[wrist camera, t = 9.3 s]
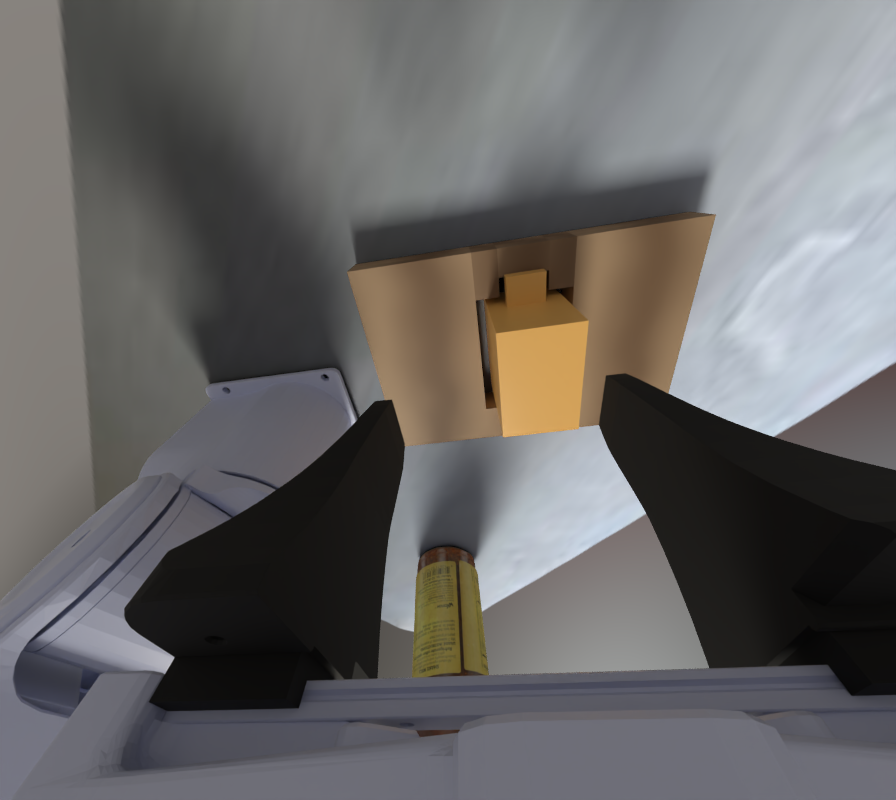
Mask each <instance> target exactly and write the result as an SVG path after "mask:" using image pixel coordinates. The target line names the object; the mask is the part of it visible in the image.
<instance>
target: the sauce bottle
mask: <svg viewBox="0 0 896 800" xmlns="http://www.w3.org/2000/svg"><path fill="white" fill-rule="evenodd" d="M478 675H489V673H488V664H487V656H486V647H485V638H484V628H483V619H482V610H481V601H480V592H479V583H478V574H477V571H476V569H475V563H474V559H473V557H472V555H471V554H470V553H468V552H466V551H464V550H461V549H459V548H456V547H448V546H445V547H437V548H434V549H431V550H430V551H427V552H425V553H424V554H423V555H422V556H421V558H420V560H419V563H418V573H417V577H416V596H415V623H414V647H413V670H412V678H413V677H446V676H478ZM415 731H417V733H418V734H419V736H420V737H427V736H435V735H444V734H453V733H458V732H459V731H460V730H415Z"/></svg>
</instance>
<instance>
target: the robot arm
mask: <svg viewBox="0 0 896 800" xmlns="http://www.w3.org/2000/svg"><path fill="white" fill-rule="evenodd" d="M323 374H326V375H327V376H328V377H329V378H325V377H324V376H323ZM226 387H227V388H229V389H230V391H229V390H228V389H227V388H226ZM206 393H207V394H208V396H209V397H210V399H211V401H210V402H209V403H208V404H206V405H205V406H204V407H203V408H202V409H201V410H200V411H199V412H198V413H197V414H195V415H194V416H193V417H192V418H191V419H190V420H189V421H188V422H187V423H185V424H184V425H183V426H182V427H181V428H180V429H179V430H178V431H177V432H176V433H174V434H173V435H172V436H171V437H170V438H169V439H168V440H167V441H166V442H164V443H163V444H162V445H161V446H160V447H159V448H158V449H157V450H156V451H155V452H154V453H153V454H152V455H151V456H150V457H149V458H148V460H147V461H146V462H145V464H144V466H143V468H142V470H141V472H140V474H139V477H138V480H137V481H136V482H134V483H133V484H131V485H130V486H129V487H127V488H126V489H124V490H123V491H122V492H121V493H119V494H118V495H117V496H115V497H114V498H113V499H112V500H110V501H109V502H108V503H107V504H106V505H104V506H103V507H102V508H101V509H99V510H98V511H97V512H96V513H95V514H93V515H92V516H91V517H90V518H89V519H88V520H86V521H85V522H84V523H83V524H82V525H81V526H80V527H78V528H77V529H76V530H75V531H74V532H73V533H71V534H70V535H69V536H68V537H67V538H66V539H65V540H64V541H62V542H61V543H60V544H59V545H58V546H57V547H56V548H55V549H53V551H52V552H50V553H49V554H48V555H47V556H46V557H45V558H44V559H43V560H41V561H40V562H39V563H38V564H37V565H36V566H35V567H34V568H33V569H32V570H31V571H30V572H29V573H28V574H27V575H26V576H25V577H23V578H22V579H21V580H20V581H19V582H18V583H17V584H16V585H15V586H14V588H12V589H11V590H10V591H9V592H8V593H7V594H6V595H5V597H4V598H3V599H2V600H1V601H0V800H896V470H892V469H888V468H884V467H880V466H876V465H871V464H867V463H863V462H859V461H854V460H851V459H847V458H843V457H839V456H836V455H832V454H828V453H824V452H821V451H817V450H814V449H811V448H807V447H804V446H800V445H797V444H794V443H791V442H787V441H784V440H781V439H778V438H775V437H772V436H769V435H766V434H763V433H760V432H758V431H755V430H752V429H749V428H746V427H744V426H741V425H738V424H736V423H733V422H731V421H728V420H726V419H723V418H721V417H718V416H716V415H714V414H711V413H709V412H707V411H704V410H702V409H700V408H698V407H696V406H693V405H691V404H689V403H687V402H685V401H683V400H681V399H679V398H676V397H674V396H672V395H670V394H668V393H666V392H664V391H662V390H660V389H658V388H656V387H654V386H652V385H650V384H648V383H646V382H644V381H642V380H640V379H638V378H636V377H633V376H631V375H629V374H626V373H623V374H614V375H606V378H605V385H604V392H603V399H602V406H601V413H600V420H599V426H600V429H601V431H602V434H603V436H604V439H605V441H606V444H607V446H608V448H609V450H610V452H611V454H612V456H613V457H614V459H615V461H616V463H617V464H618V466H619V468H620V469H621V471H622V473H623V474H624V476H625V478H626V479H627V481H628V483H629V484H630V486H631V488H632V489H633V491H634V493H635V494H636V496H637V498H638V499H639V501H640V503H641V505H642V506H643V508H644V510H645V512H646V514H647V516H648V517H649V519H650V521H651V523H652V526H653V528H654V530H655V532H656V534H657V537H658V539H659V541H660V543H661V545H662V548H663V550H664V552H665V555H666V557H667V559H668V562H669V564H670V566H671V569H672V571H673V573H674V576H675V578H676V580H677V583H678V585H679V588H680V590H681V593H682V595H683V598H684V601H685V603H686V606H687V608H688V611H689V613H690V616H691V618H692V621H693V623H694V626H695V629H696V632H697V635H698V637H699V640H700V643H701V646H702V648H703V651H704V654H705V657H706V659H707V662H708V665H709V668H706V669H675V670H674V669H673V670H641V671H608V672H577V673H543V674H511V675H478V676H446V677H413V678H382V679H377V674H378V655H379V636H380V622H381V608H382V595H383V584H384V574H385V564H386V555H387V546H388V537H389V532H390V526H391V521H392V517H393V512H394V508H395V503H396V499H397V494H398V490H399V485H400V480H401V476H402V471H403V462H404V449H405V442H404V439H403V435H402V432H401V428H400V425H399V422H398V418H397V415H396V411H395V408H394V404H393V401H392V400H383V401H375V402H374V403H373V404H372V405H371V406H370V407H369V408H368V409H367V410H366V411H365V412H364V413H363V414H362V415H361V416H360V418H359V419H357V416H356V414H355V411H354V408H353V405H352V403H351V400H350V397H349V395H348V392H347V389H346V387H345V384H344V381H343V378H342V376H341V373H340V371H339V370H337V369H336V368H325V369H318V370H310V371H303V372H295V373H288V374H280V375H273V376H265V377H258V378H250V379H242V380H235V381H227V382H220V383H212V384H210V385H208V386H207V387H206ZM415 730H460V731H459V732H458V733H453V734H444V735H435V736H427V737H420V736H419V734H418V733H417V731H415Z"/></svg>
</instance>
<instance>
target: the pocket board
mask: <svg viewBox="0 0 896 800" xmlns="http://www.w3.org/2000/svg"><path fill="white" fill-rule="evenodd" d="M715 216H716V215H715V214H705V213H696V212H686V213H679V214H673V215H666V216H660V217H654V218H647V219H641V220H635V221H628V222H622V223H616V224H609V225H603V226H596V227H590V228H584V229H577V230H571V231H565V232H558V233H552V234H545V235H539V236H533V237H526V238H520V239H514V240H507V241H501V242H495V243H488V244H482V245H475V246H469V247H463V248H456V249H450V250H444V251H437V252H431V253H425V254H418V255H412V256H405V257H399V258H393V259H386V260H380V261H374V262H367V263H361V264H356V265H355V266H353V267H352V268H351V269H350V270H349V271H348V272H347V274H348V277H349V281H350V284H351V287H352V291H353V294H354V297H355V301H356V304H357V307H358V311H359V314H360V317H361V321H362V324H363V327H364V331H365V334H366V338H367V341H368V344H369V348H370V351H371V354H372V358H373V361H374V364H375V368H376V371H377V374H378V378H379V381H380V384H381V388H382V391H383V394H384V398H385V400H392V401H393V404H394V408H395V411H396V415H397V418H398V422H399V425H400V428H401V432H402V435H403V439H404V442H405V446H413V445H422V444H431V443H440V442H449V441H458V440H467V439H476V438H485V437H494V436H503V434H502V430H501V425H500V421H499V416H498V412H497V407H496V403H495V398H494V394H493V392H488V393H485V392H484V382H483V372H482V362H481V351H480V341H479V331H478V321H477V310H476V300H483V299H490V298H497V297H500V293H499V278H501V277H504V274H511V273H518V272H524V271H531V270H537V269H545V270H546V271H547V273H546V287H547V289H548V290H552V289H559V288H562V296H564V297H565V298H566V299H567V300H568V301H569V302H570V303H571V304H572V305H573V306H574V307H575V308H576V309H577V310H578V311H579V312H580V313H581V314H582V315H583V316H584V317H585V318H587V319H588V320H589V324H588V334H587V345H586V356H585V366H584V377H583V387H582V398H581V409H580V419H579V427H584V426H593V425H599V420H600V413H601V406H602V399H603V392H604V385H605V378H606V375H614V374H623V373H626V374H629V375H631V376H633V377H636V378H638V379H640V380H642V381H644V382H646V383H648V384H650V385H652V386H654V387H656V388H658V389H660V390H662V391H664V392H666V393H668V392H669V389H670V385H671V381H672V377H673V374H674V370H675V366H676V362H677V359H678V355H679V351H680V347H681V344H682V340H683V336H684V332H685V329H686V325H687V321H688V317H689V314H690V310H691V306H692V302H693V299H694V295H695V291H696V287H697V284H698V280H699V276H700V272H701V269H702V265H703V261H704V257H705V254H706V250H707V246H708V243H709V239H710V235H711V231H712V228H713V224H714V220H715Z"/></svg>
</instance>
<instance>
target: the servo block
mask: <svg viewBox="0 0 896 800" xmlns="http://www.w3.org/2000/svg"><path fill="white" fill-rule="evenodd" d="M546 273H547V271H546V270H545V269H537V270H531V271H524V272H518V273H511V274H504V292H501V293H500V297H497V298H490V299H484V308H485V320H486V331H487V343H488V355H489V366H490V378H491V385H492V389H493V394H494V398H495V403H496V407H497V412H498V416H499V421H500V425H501V430H502V434H503V437H511V436H520V435H528V434H537V433H546V432H555V431H564V430H573V429H579V419H580V409H581V398H582V387H583V377H584V366H585V356H586V345H587V334H588V324H589V320H588V319H587V318H585V317H584V316H583V315H582V314H581V313H580V312H579V311H578V310H577V309H576V308H575V307H574V306H573V305H572V304H571V303H570V302H569V301H568V300H567V299H566V298H565V297H564V296H562V295H561V294H560V293H559V292H558V291H557V290H556V289H552V290H548V289H547V287H546Z"/></svg>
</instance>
